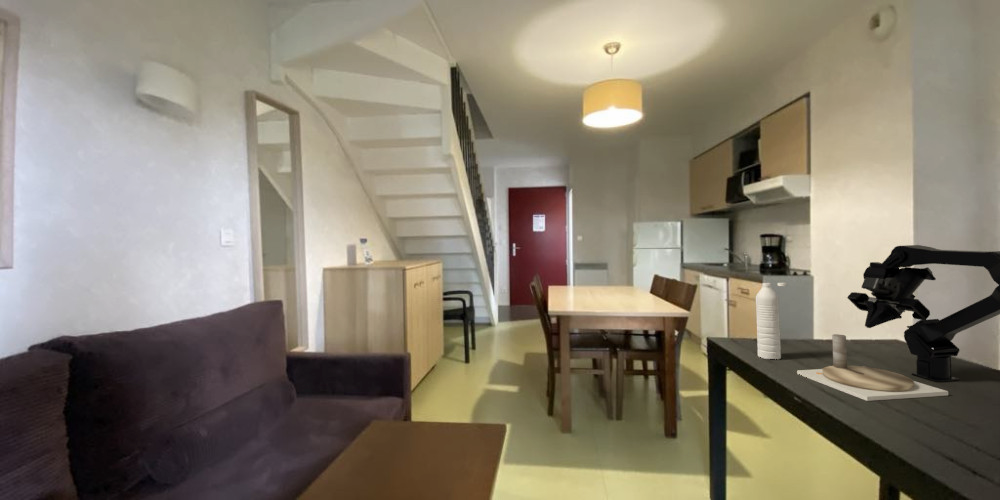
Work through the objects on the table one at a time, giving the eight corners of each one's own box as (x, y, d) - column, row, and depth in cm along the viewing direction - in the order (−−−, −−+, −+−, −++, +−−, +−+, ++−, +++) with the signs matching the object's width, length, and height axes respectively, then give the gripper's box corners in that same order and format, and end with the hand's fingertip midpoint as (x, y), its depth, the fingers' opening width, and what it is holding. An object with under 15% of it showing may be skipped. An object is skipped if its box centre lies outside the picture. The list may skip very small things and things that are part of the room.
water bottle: (757, 358, 134) (754, 283, 134) (758, 353, 140) (755, 281, 139) (789, 361, 129) (786, 283, 129) (789, 356, 135) (786, 282, 135)
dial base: (864, 369, 119) (864, 365, 119) (948, 395, 98) (948, 390, 98) (797, 373, 118) (797, 370, 118) (867, 400, 97) (867, 396, 97)
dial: (864, 367, 117) (863, 332, 117) (935, 388, 99) (933, 347, 99) (806, 370, 116) (804, 336, 116) (866, 392, 98) (865, 351, 98)
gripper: (851, 265, 124) (819, 303, 124) (918, 268, 106) (880, 313, 105) (876, 290, 125) (844, 327, 124) (947, 297, 106) (909, 341, 106)
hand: (867, 326), depth 115 cm, fingers closed
